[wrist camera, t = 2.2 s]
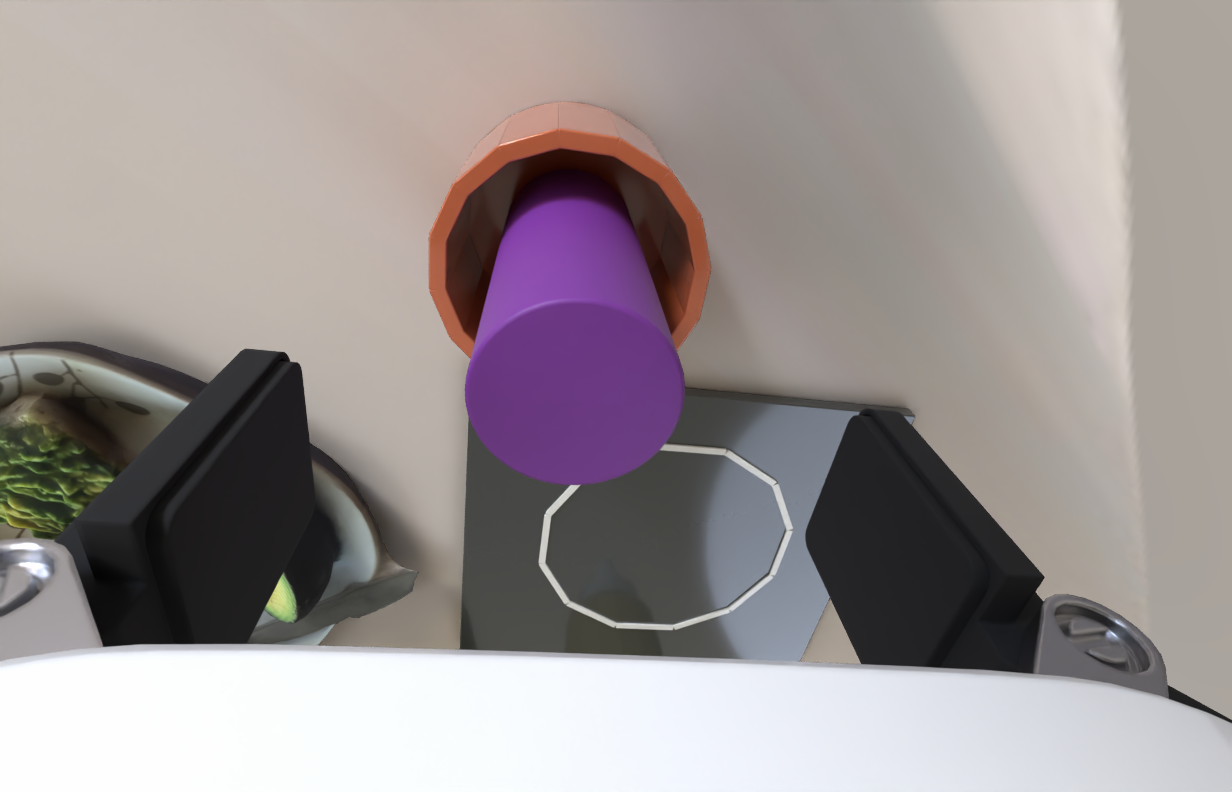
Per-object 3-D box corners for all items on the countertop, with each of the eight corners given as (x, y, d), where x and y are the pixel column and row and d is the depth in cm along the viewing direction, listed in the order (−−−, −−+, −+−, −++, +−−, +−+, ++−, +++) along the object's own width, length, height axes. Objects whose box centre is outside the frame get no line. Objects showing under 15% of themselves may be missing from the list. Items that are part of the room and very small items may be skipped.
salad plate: (260, 727, 34) (221, 819, 30) (-140, 593, 27) (-258, 691, 23) (464, 514, 28) (448, 598, 24) (1, 262, 20) (-131, 323, 17)
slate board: (472, 367, 24) (469, 376, 23) (909, 408, 26) (917, 417, 26) (461, 641, 32) (459, 653, 31) (796, 652, 34) (800, 664, 34)
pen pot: (460, 83, 19) (427, 108, 14) (697, 120, 20) (739, 155, 15) (455, 308, 22) (428, 386, 18) (655, 329, 24) (678, 408, 19)
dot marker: (511, 152, 19) (467, 285, 10) (638, 170, 20) (707, 312, 11) (504, 275, 21) (460, 479, 12) (619, 288, 22) (663, 494, 13)
